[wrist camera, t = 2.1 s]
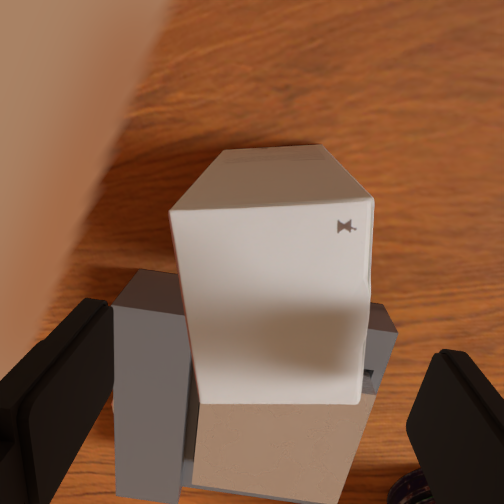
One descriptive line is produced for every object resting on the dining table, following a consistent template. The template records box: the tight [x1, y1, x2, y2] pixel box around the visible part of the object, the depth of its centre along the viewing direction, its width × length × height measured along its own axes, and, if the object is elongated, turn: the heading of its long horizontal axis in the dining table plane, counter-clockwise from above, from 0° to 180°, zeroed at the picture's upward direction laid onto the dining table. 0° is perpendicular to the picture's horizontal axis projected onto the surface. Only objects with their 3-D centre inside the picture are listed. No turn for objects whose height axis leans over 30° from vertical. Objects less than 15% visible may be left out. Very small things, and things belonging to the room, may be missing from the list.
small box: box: [168, 144, 374, 405], centre depth 18 cm, size 8×6×13 cm
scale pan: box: [192, 369, 376, 504], centre depth 26 cm, size 11×11×3 cm
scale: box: [111, 269, 398, 504], centre depth 28 cm, size 18×18×5 cm
